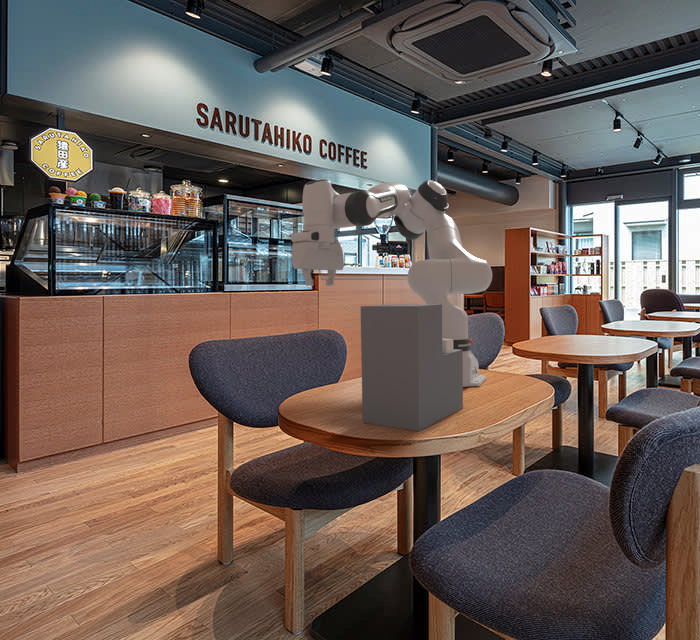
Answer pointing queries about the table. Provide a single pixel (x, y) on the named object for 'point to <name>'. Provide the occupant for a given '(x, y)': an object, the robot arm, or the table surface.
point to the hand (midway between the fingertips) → (320, 285)
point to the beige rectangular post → (447, 345)
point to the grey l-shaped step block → (407, 367)
